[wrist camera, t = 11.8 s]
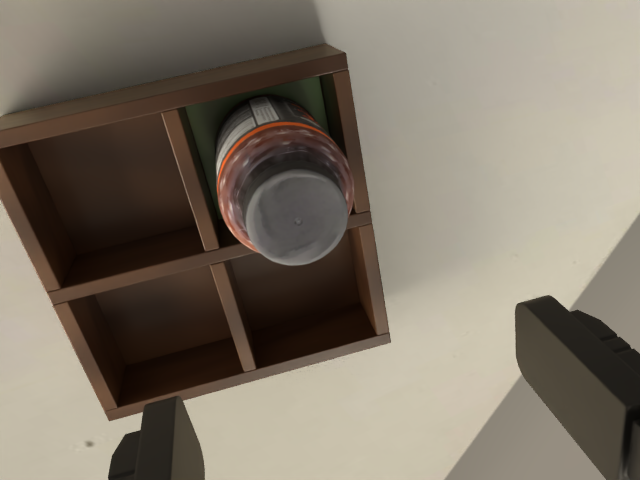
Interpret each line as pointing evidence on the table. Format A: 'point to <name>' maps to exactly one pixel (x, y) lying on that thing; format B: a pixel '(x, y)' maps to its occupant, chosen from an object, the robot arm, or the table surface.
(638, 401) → the robot arm
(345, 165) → the supplement bottle
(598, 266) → the table surface
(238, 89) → the box
